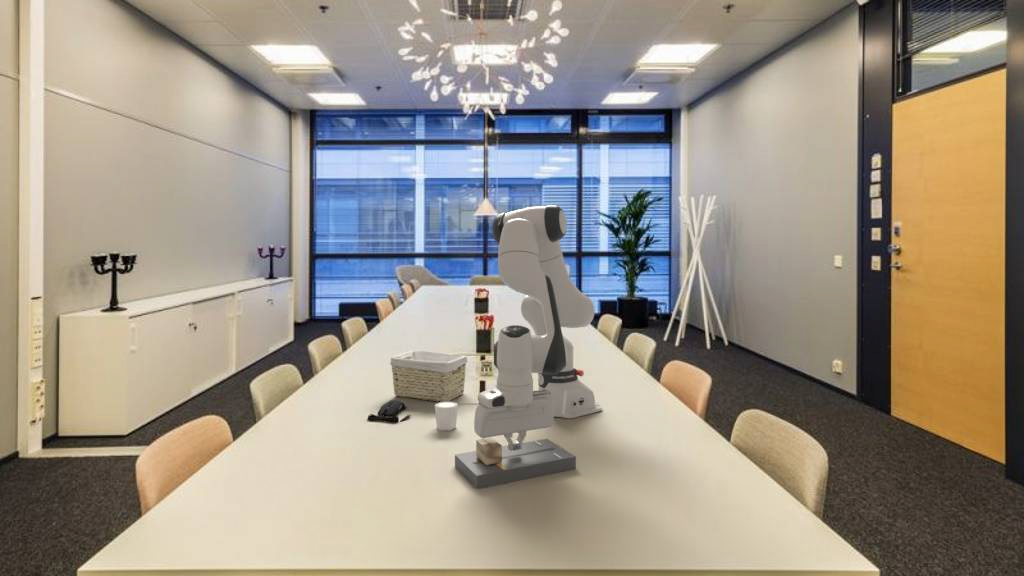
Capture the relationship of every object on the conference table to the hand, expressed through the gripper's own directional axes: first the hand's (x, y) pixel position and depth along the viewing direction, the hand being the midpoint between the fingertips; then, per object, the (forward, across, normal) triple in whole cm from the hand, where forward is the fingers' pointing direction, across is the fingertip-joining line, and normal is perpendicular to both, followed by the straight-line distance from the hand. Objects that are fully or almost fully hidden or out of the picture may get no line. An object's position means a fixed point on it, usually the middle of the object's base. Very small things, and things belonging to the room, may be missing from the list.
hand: (514, 449), depth 134 cm
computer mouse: (+5, +15, -55) cm, 57 cm away
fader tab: (+1, +7, 0) cm, 7 cm away
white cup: (+5, +5, -36) cm, 36 cm away
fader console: (+4, 0, 0) cm, 5 cm away
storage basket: (+5, -1, -72) cm, 73 cm away
